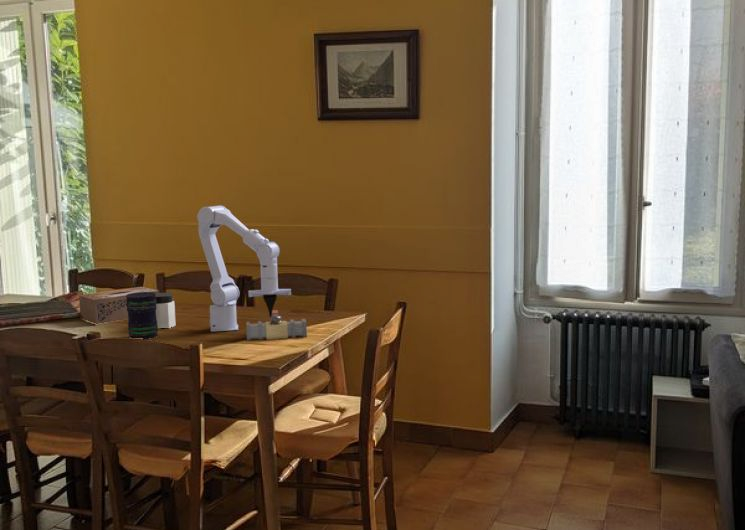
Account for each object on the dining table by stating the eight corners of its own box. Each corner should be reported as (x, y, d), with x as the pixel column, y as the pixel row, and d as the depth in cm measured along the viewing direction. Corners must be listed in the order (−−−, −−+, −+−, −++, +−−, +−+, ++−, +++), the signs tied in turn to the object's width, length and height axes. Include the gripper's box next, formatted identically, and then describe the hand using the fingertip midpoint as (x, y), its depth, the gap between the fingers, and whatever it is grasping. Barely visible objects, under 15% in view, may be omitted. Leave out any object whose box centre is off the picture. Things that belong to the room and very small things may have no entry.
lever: (281, 322, 248) (281, 317, 248) (271, 323, 248) (270, 318, 248) (279, 314, 261) (279, 309, 261) (269, 315, 261) (269, 310, 260)
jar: (175, 323, 274) (174, 292, 272) (175, 328, 266) (173, 295, 265) (150, 325, 272) (148, 293, 270) (149, 330, 264) (147, 297, 262)
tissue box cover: (96, 326, 274) (94, 299, 272) (80, 320, 284) (79, 295, 283) (160, 315, 291) (159, 290, 290) (143, 310, 301) (142, 286, 300)
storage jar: (148, 341, 248) (145, 297, 245) (122, 339, 250) (119, 296, 248) (164, 334, 257) (161, 292, 255) (139, 333, 260) (136, 291, 258)
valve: (247, 340, 246) (246, 325, 245) (246, 336, 252) (246, 321, 251) (306, 337, 249) (306, 322, 249) (305, 333, 255) (305, 318, 254)
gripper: (248, 280, 249) (249, 319, 251) (291, 278, 251) (292, 317, 253) (247, 277, 256) (249, 315, 258) (289, 275, 258) (291, 313, 260)
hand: (270, 316), depth 256 cm, fingers closed, pressing on lever
